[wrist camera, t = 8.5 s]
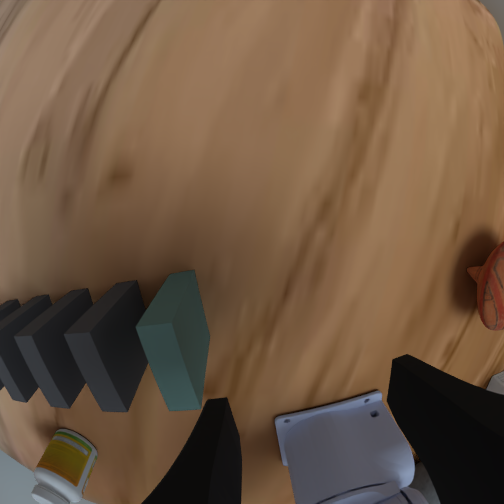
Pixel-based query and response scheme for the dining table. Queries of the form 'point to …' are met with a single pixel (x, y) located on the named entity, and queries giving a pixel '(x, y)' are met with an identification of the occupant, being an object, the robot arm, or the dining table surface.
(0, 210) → the dining table surface
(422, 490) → the decorative ball
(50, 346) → the domino
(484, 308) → the pot
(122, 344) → the domino
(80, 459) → the supplement bottle
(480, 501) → the robot arm
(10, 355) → the domino
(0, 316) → the domino
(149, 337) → the loose domino
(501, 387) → the ink cartridge box
